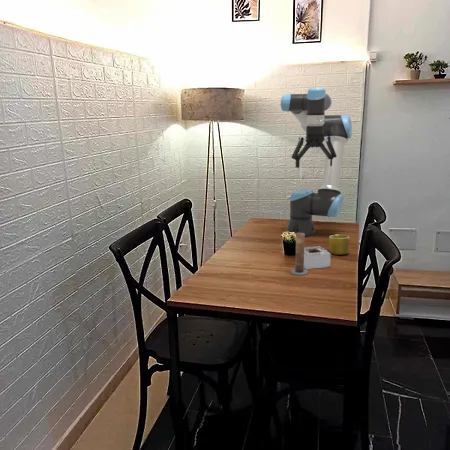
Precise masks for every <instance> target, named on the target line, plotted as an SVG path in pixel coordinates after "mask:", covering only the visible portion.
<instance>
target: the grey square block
mask: <svg viewBox="0 0 450 450" xmlns="http://www.w3.org/2000/svg"><path fill="white" fill-rule="evenodd" d="M331 256H332V254H331V253H330V251H328V250H326V249H325V248H324V247H323V246H321V245H313V246H304V269H306V270H311V269H312V270H313V269H322V268H330V267H331V259H332V258H331Z"/></svg>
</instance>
